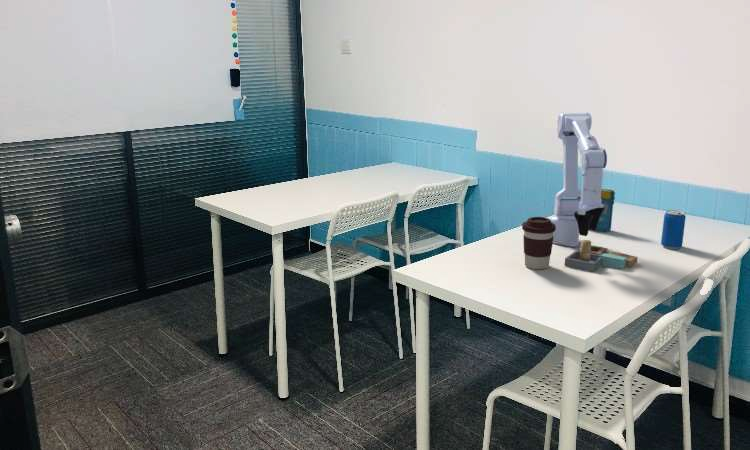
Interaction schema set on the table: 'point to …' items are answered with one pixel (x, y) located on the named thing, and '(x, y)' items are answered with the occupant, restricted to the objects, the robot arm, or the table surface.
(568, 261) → the tray
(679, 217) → the beverage can
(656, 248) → the table surface
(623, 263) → the teal rectangular block
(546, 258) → the coffee cup
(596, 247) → the socket
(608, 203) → the teal coffee bag
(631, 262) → the tan wooden slab
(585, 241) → the dowel
